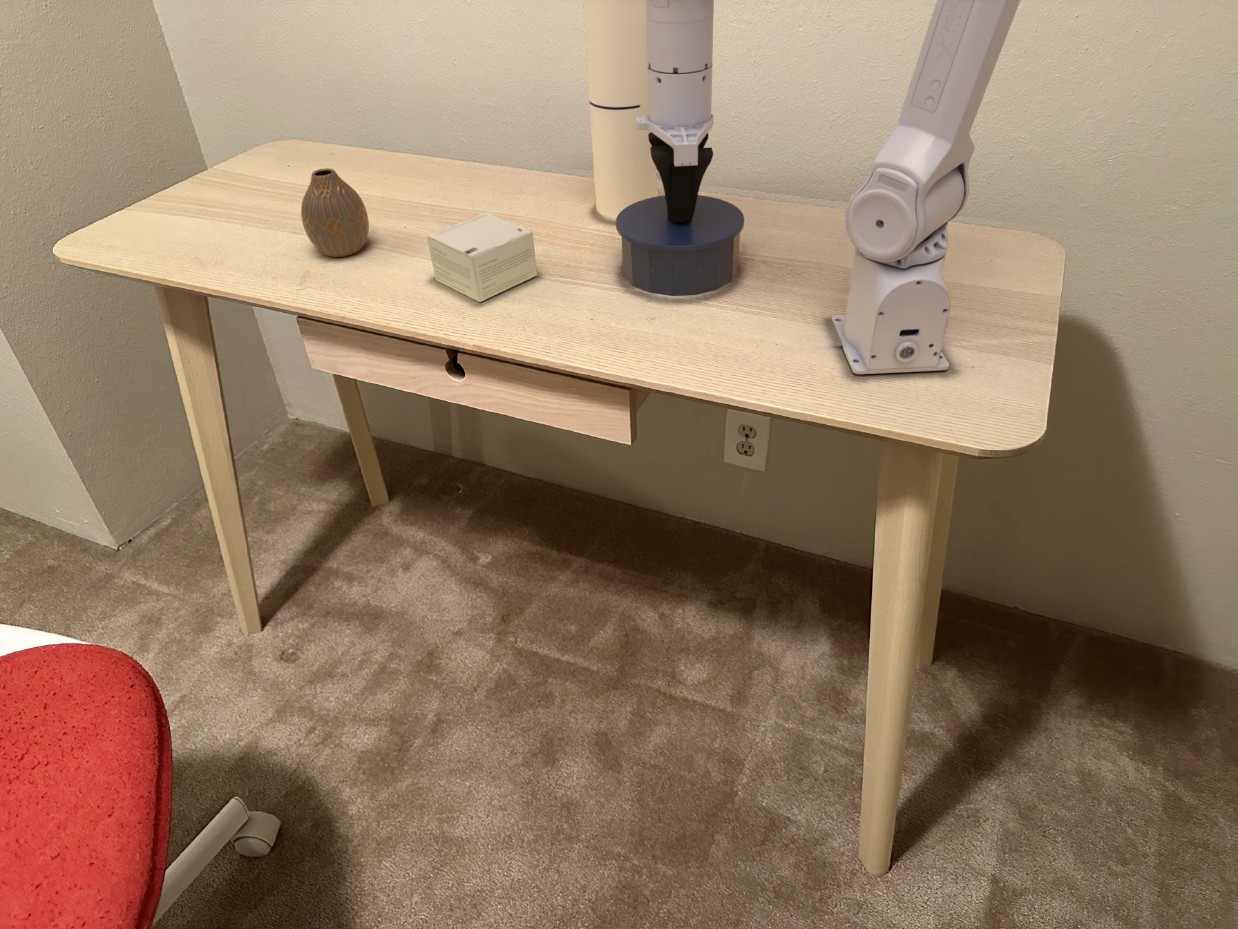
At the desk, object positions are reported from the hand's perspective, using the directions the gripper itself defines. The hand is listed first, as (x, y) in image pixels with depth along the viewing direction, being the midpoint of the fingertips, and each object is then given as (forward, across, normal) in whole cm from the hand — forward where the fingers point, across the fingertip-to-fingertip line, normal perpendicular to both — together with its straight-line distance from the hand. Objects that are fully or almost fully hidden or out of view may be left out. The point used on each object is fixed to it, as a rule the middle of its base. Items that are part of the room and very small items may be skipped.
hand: (679, 213), depth 84 cm
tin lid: (+1, 0, 0) cm, 1 cm away
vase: (+7, -10, -37) cm, 39 cm away
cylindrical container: (+7, -17, -5) cm, 19 cm away
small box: (+7, -1, -20) cm, 21 cm away
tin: (+6, 0, 0) cm, 6 cm away
